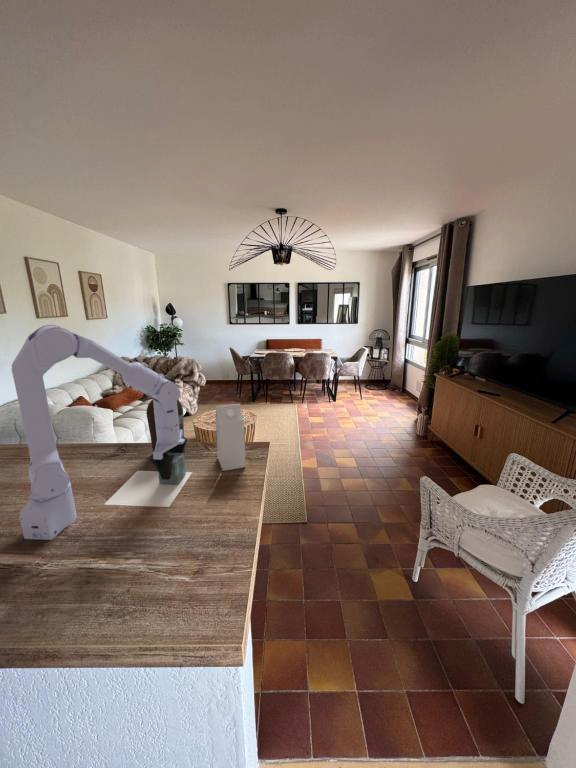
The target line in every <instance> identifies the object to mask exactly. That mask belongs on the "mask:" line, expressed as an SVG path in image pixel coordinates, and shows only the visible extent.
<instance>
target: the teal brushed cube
mask: <svg viewBox="0 0 576 768" xmlns="http://www.w3.org/2000/svg"><path fill="white" fill-rule="evenodd" d="M167 454H168V455H174V458H173V461H172V466H171V478H170V480H162V478H161V476H160V474H159V471H158V470H157V471H158V475H159V484H166V485H179V484H180V482H181V481H182V479H183V478H184V477H185V475H186V472H187V471H186V462H185V455H184V453H167Z"/></svg>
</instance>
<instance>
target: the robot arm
mask: <svg viewBox="0 0 576 768" xmlns="http://www.w3.org/2000/svg"><path fill="white" fill-rule="evenodd" d="M72 356H73V357H75V358H77V359H92V360H93V361H95V362H97V363H99V364H101V365H103V366H105V367H107V368H109V369H110V370H113V371H115V372H116V373H118V374H120V375H121V377H122V381H123V383H125V384H126V385H128V386H130V387H132V388H134V389H135V390H138V392H140V393H143V394H144V395H147V396H149V397H150V398H152V399H153V398H154V399H153V404H154V416H155V425H156V434H157V442H156V447H155V450H154V452H153V451H152V454H150V456H149V459H150V460H149V461H150V462H152V464H153V465H154V466H155V467H156V469H157V471H159V474H160V476H161V478H162V480H170V478H171V466H172V461H173V458H174V455H168V454H167V453H166V451H168V450H170V453H183V452H184V448H185V447H186V444H187V443H188V438H187V437H185V438H181V437H182V436H183V430H179V419H178V408H177V400H179V398H180V397H181V396H180V395H181V390H179V387H178V385H177V384H176V383H175V382H173V381H171V380H168V379H166V378H165V377H166V376H165V375H164V374H163V373H157V372H156V371H154V370H152V369H151V368H149V364H148V363H146V362H139V361H135V362H128V361H126V360H125V359H123V358H121V357H120V356H119V355H116V354H115V353H114V352H112V351H111V350H109V349H107V348H105V347H104V346H102V345H100V343H97V342H96V341H94V340H93V339H90V338H87V337H85V336H82V335H80V334H78V333H75V332H72V331H70V330H69V329H67V328H65V327H61V326H60V325H56V324H45V325H42V326H39V327H38V328H37V329H35V330H34V331H33V332H32V333H30V334H29V335H28V336H27V338H26V340H25V341H24V344H23V345H22V346H21V349H20V350H19V352H18V353H17V355H16V357H15V358H14V360H13V362H12V363H11V373H12V378H13V382H14V387H15V392H16V396H17V400H18V404H19V409H20V414H21V419H22V423H23V424H22V425H23V429H24V433H25V438H26V442H27V443H26V444H27V448H28V451H29V457H30V462H29V464H28V465H27V475H28V477H29V479H30V490H31V491H29V499H28V502H27V503H26V505H25V506H24V507H23V508H22V509H21V510H20V512H19V513H18V514H19V515H18V516H19V523H20V527H21V531H22V535H23V539H24V540H43V541H44V540H46V541H52V540H54V538H55V537H57V535H59V534H60V533H61V532H62V531H63V530H65V529H66V528H67V527H69V526H70V525H72V524H73V523H74V522H75V521H76V519H77V517H78V516H77V510H76V505H75V499H74V495H73V489H72V484H71V481H70V476H69V474H68V473H67V471H66V470H65V467H64V464H63V461H62V459H61V458H60V455H59V452H58V449H57V444H56V438H55V433H54V432H55V431H54V428H53V427H54V426H53V423H52V422H53V421H52V418H51V413H50V407H49V403H48V397H47V391H46V386H45V381H44V376H45V374H46V373H47V372H48V371H49V370H50V369H52V367H54V366H55V365H56V364H58V363H60V362H63V361H65V360H67V359H69V358H70V357H72ZM155 399H156V400H155ZM185 449H186V448H185Z"/></svg>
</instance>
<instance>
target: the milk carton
mask: <svg viewBox="0 0 576 768" xmlns="http://www.w3.org/2000/svg"><path fill="white" fill-rule="evenodd" d="M215 409H216V411H215V415H214V418H215V433H216V434H215V435H216V447H217V448H216V449H217V460H218V462H219V465H220V467H221V472H226V471H230V470H231V471H232V470H236V469H243V468H245V467H246V447H245V446H246V445H245V423H244V421H245V420H244V415H243V410H242V406H241V403H233V404H225V405H216V406H215Z"/></svg>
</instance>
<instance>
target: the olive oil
mask: <svg viewBox="0 0 576 768" xmlns="http://www.w3.org/2000/svg"><path fill="white" fill-rule="evenodd" d="M153 399H154V398H152V399H151V400H150V402H149V403H148V405H147V407H146V413H145V414H146V419H147V425H148V429H149V430H148V431H149V437H150V442H151V448H152V453H153V452H154V450H155V447H156V442H157V434H156V425H155V416H154V404H153ZM155 400H156V399H155ZM177 408H178V419H179V430H183V436H182V437H181V438H186V437H185V430H184V429H185V426H184V425H185V424H184V407H183V405H182V403H181V401H180V400H179V399H178V400H177ZM185 450H186V448H184V452H183V453H184V456H185V453H186V451H185ZM166 453H170V450H168V451H166Z"/></svg>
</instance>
